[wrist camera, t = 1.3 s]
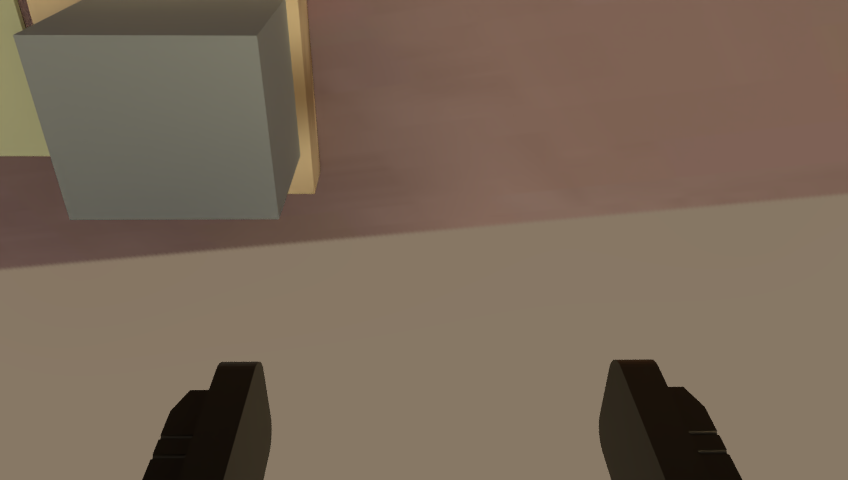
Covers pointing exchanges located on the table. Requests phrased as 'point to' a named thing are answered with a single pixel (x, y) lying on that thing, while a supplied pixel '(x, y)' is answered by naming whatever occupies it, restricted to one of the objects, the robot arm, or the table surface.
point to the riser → (305, 179)
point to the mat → (16, 92)
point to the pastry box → (166, 107)
